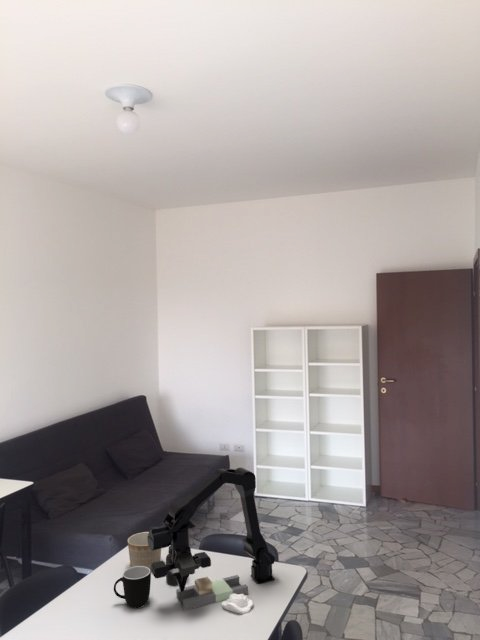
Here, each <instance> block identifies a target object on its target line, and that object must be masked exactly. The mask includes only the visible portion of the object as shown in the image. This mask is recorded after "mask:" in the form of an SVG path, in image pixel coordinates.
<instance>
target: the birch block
mask: <svg viewBox="0 0 480 640" xmlns="http://www.w3.org/2000/svg"><path fill="white" fill-rule="evenodd" d="M211 581H212V580H211V579H210V578H209V577H208V576H205V577H201V578H197V579H194V585H195V589H196V591H197V592H198V594H199V595H201V594H205V593H209V592H212V582H211Z"/></svg>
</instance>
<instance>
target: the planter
mask: <svg viewBox="0 0 480 640" xmlns="http://www.w3.org/2000/svg"><path fill="white" fill-rule="evenodd" d="M149 532H150V531H143V532H138V533H135V534H132V535H131V536H129V537H128V538H127V548H128V555H129V565H130V568H131V567H135V566H145V567H148V568H149V569H150V571H151V565H152V563H154V562H159V561H162V559H161V558H162V557H161V556H162V548H161V549H157V550H153V551H151V550H150V548H149V545H148V539H147V536H148V533H149Z"/></svg>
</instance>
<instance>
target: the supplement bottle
mask: <svg viewBox="0 0 480 640" xmlns="http://www.w3.org/2000/svg"><path fill="white" fill-rule="evenodd" d="M167 551H168V553H167V555H166V557H165V564H169V563H172V560H171V557H172V548H171V545H170V546H169V547H168V550H167ZM167 572H168V574H167V575H166V576H165V578H166V579H165V580H166V583H167V585H170V586H178V583H177V580H176V578H175V577H173V576H172V575H171V573H170V572H169V570H168V571H167Z"/></svg>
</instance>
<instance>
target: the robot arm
mask: <svg viewBox="0 0 480 640" xmlns="http://www.w3.org/2000/svg"><path fill="white" fill-rule="evenodd" d="M256 481H257V478H256V475H255V473H254V472H252V471H250V470H248V469H245V468H244V467H237V468H235V469H233V468H226V469H225V468H218V469H216V470H215V472H214V473H213V474H212V475H211V476H210V477H209V478H207V479H206V480H204V482H202V483H201V484H200V485H199V486H198V487H197V488H196V489H194V490H193V491H192V492H191V493H190V494H188V495H187V496H183V497H180V498H178V499H177V500H176V501H174V502H172V503H171V505H170V506H169V507H168V511H167V513H166V516H165V517H164V519H163V520H162V522H161V523H162V525H158V526H151V527H149V531H148V532H149V533H148V536H147V539H148V545H149V548H150V550H151V551H153V550H157V549H161V550H162V549H165V548H167V547H168V548H169V546H171V548H172V557H171V560H172V563H169V564H166V562H164V561H163V560H161V561H159V562H154V563H152V565H151V575H153V577H154V579H161V578H166V575H167V574H168V572H167V571H168V570H169V572H170V573H171V575H172V576H173V577H175V578H176V580H177V583H178V585H177V586H178V589H180V591H181V592H182V591H184V588H185V587H186V585H187V582H188V579H189V576H190V575H194V574H196V570H198V569H200V568H201V569H205V568H209V567H211V566H212V560H211V559H212V558H211V557H210V556H209V555H208V554H207V553H206V552H205V551H202V552H198V553H194V555H192V550H191V549H192V548H191V547H190V545H191V544H190V529H193V528H196V525H195V524H194V522H192V521H191V520H192V519H193V517H194V516H195V514H196V512H197V511H198V508H199V507H200V506H201V505H202V504H203V503H204V502H205V501H207V500H208V499H209V498H210V497H212V495H213V494H214V493H216V492H217V491H218V490H219V489H220V488H221V487H222V486H223V485H225V484H232V485H234V487H235V489H236V490H237V492H238V494H239V496H240V501H241V507H242V514H243V518H244V523H245V529H246V536H245V538H242V544H243V550H244V552H245V553H246V554H248V555H249V558H250V559H252V561H251V562H252V563H251V565H250V571H251V572H250V573H251V574H250V577H251V578H252V579H253V581H255V583H257V584H258V585H259V584H262V583H263V584H264V583H268V582H272V581H275V577H274V576H273V565H274V564H275V561H276V557H275V555H273V554H272V553H271V552H269V551H270V550H269V546H268V544H267V542H266V540H265V538H264V536H263V535H262V533H261V528H260V522H259V516H258V511H257V506H256V501H255V491H256V487H257V485H256V483H257V482H256ZM173 521H174V522H173Z"/></svg>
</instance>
